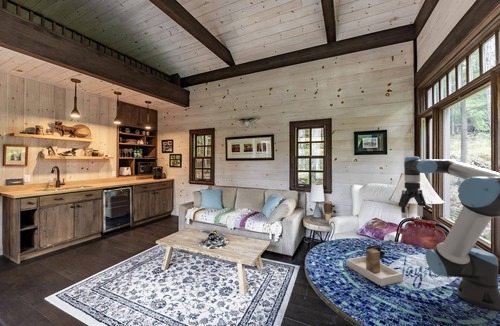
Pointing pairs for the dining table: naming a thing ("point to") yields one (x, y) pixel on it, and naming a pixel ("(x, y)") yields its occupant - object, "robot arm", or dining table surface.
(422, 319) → the dining table surface
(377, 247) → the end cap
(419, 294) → the dining table surface
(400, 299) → the dining table surface
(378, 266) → the walnut block
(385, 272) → the sorting tray
